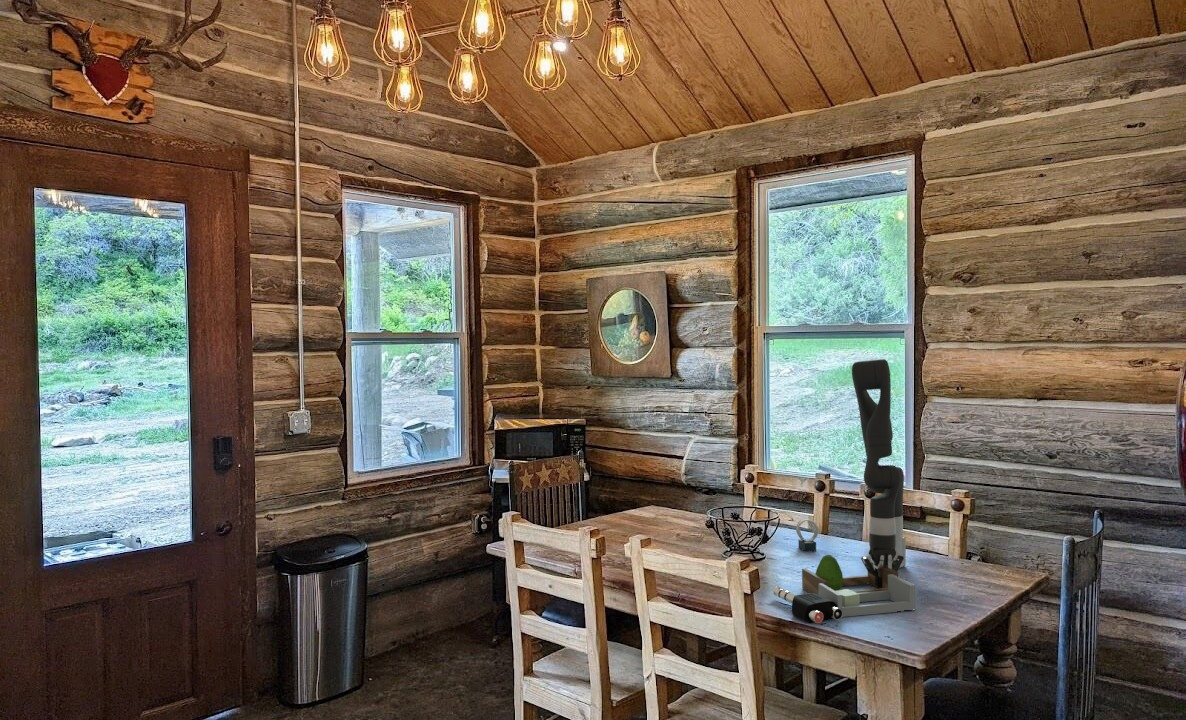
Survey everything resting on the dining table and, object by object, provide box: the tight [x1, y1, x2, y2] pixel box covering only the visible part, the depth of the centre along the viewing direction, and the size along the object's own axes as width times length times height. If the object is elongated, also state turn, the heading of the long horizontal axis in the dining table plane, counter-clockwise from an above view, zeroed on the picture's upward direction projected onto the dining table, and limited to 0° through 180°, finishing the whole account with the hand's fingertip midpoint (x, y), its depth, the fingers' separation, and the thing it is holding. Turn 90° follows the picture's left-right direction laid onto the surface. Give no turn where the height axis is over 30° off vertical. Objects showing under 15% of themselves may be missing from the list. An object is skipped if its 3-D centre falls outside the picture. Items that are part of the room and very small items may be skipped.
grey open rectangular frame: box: [818, 574, 916, 618], centre depth 229 cm, size 24×11×7 cm, turn 102°
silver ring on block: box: [795, 518, 820, 553], centre depth 293 cm, size 6×8×11 cm
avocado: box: [814, 554, 844, 591], centre depth 241 cm, size 8×8×12 cm
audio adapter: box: [772, 586, 843, 624], centre depth 228 cm, size 11×5×25 cm
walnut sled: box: [801, 559, 899, 595], centre depth 243 cm, size 24×14×7 cm, turn 102°
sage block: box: [836, 588, 861, 607], centre depth 228 cm, size 5×5×5 cm
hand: (882, 588), depth 245 cm, fingers closed on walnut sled
